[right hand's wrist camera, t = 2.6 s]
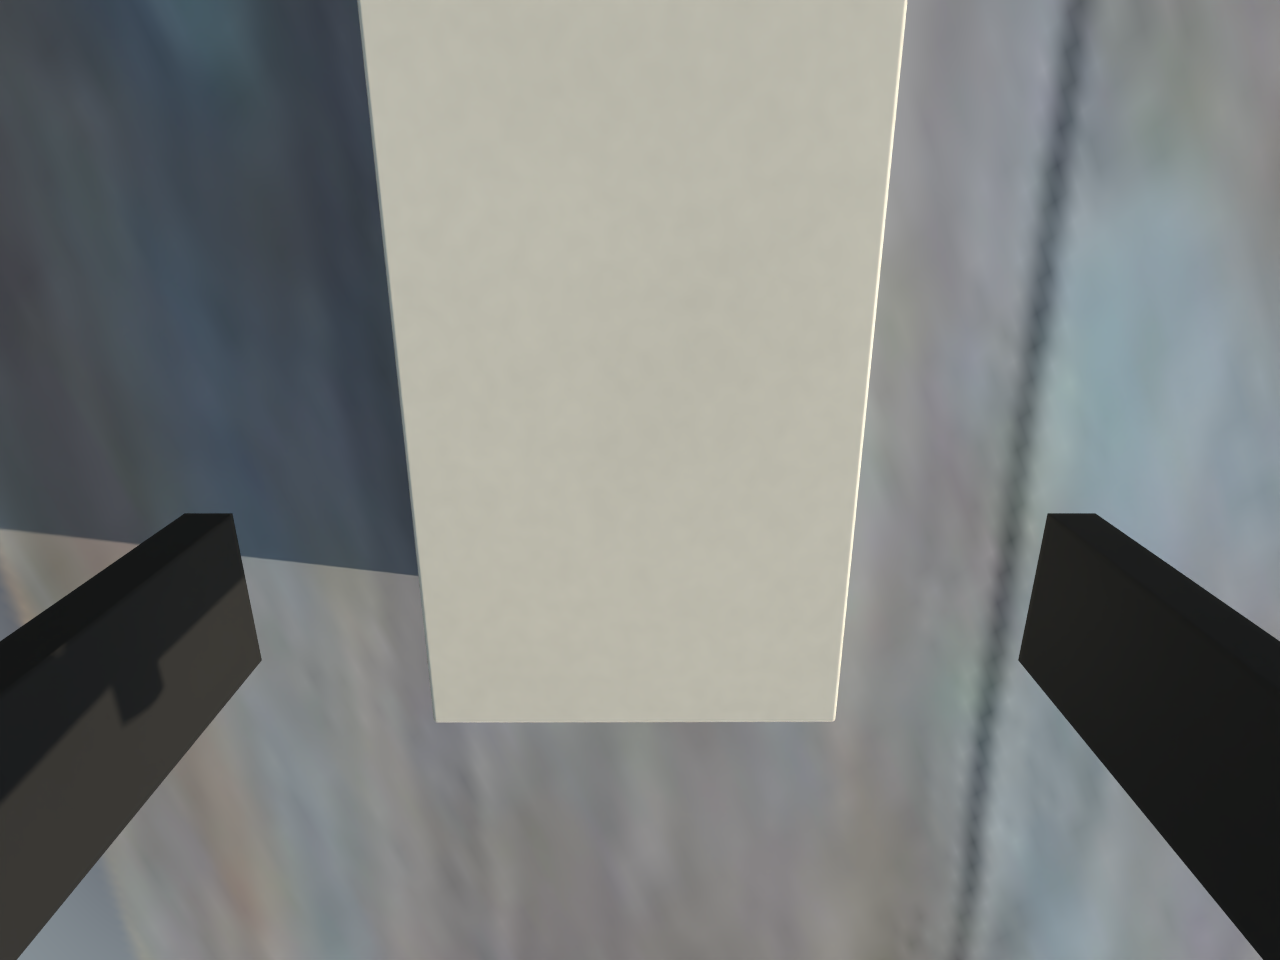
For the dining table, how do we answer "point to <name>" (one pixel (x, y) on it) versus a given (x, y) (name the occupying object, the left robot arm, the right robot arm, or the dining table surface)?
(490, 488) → the off-white long beam
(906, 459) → the dining table surface
